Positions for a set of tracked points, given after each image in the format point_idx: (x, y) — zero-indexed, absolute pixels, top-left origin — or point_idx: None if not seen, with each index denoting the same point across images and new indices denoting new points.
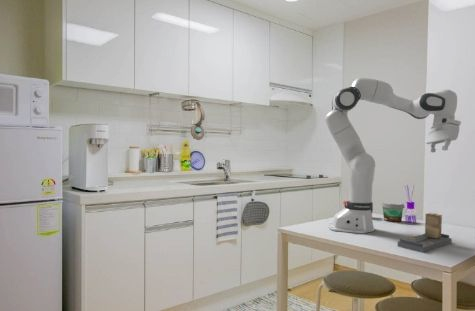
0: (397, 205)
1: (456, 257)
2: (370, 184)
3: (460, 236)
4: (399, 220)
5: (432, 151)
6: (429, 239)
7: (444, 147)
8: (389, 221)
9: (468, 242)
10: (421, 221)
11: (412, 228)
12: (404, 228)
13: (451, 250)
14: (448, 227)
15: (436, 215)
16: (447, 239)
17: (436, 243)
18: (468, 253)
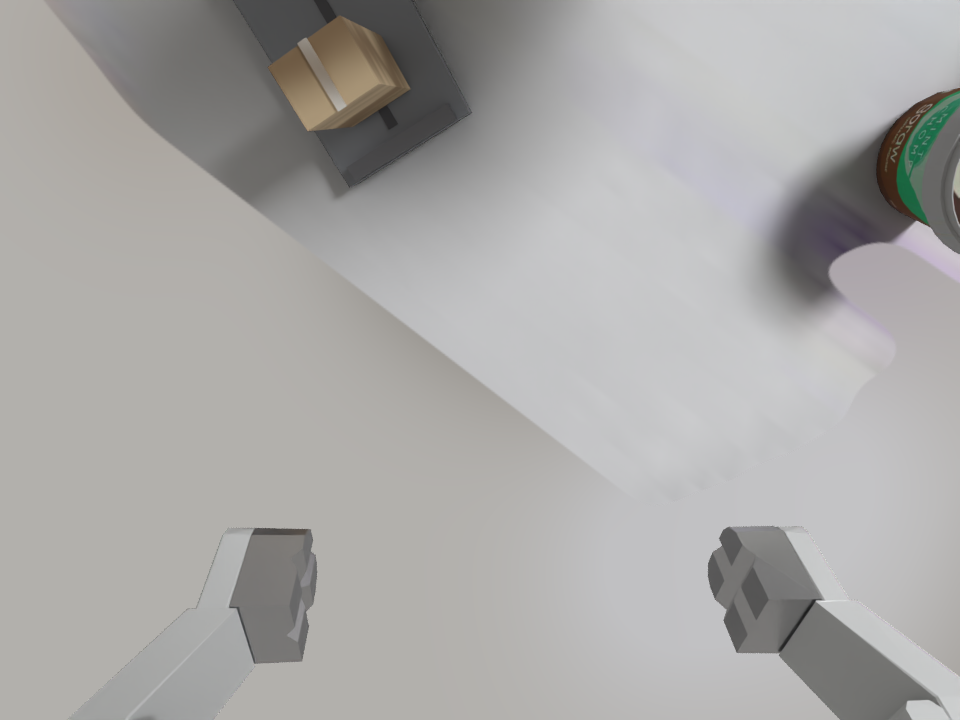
0: (952, 161)
1: (96, 16)
2: None
3: (476, 326)
4: (883, 179)
5: (725, 532)
6: (323, 26)
7: (215, 571)
8: (915, 106)
9: (363, 282)
10: (849, 346)
11: (692, 163)
12: (704, 104)
13: (215, 79)
14: (667, 400)
15: (287, 72)
16: (326, 145)
17: (242, 14)
18: (172, 135)
